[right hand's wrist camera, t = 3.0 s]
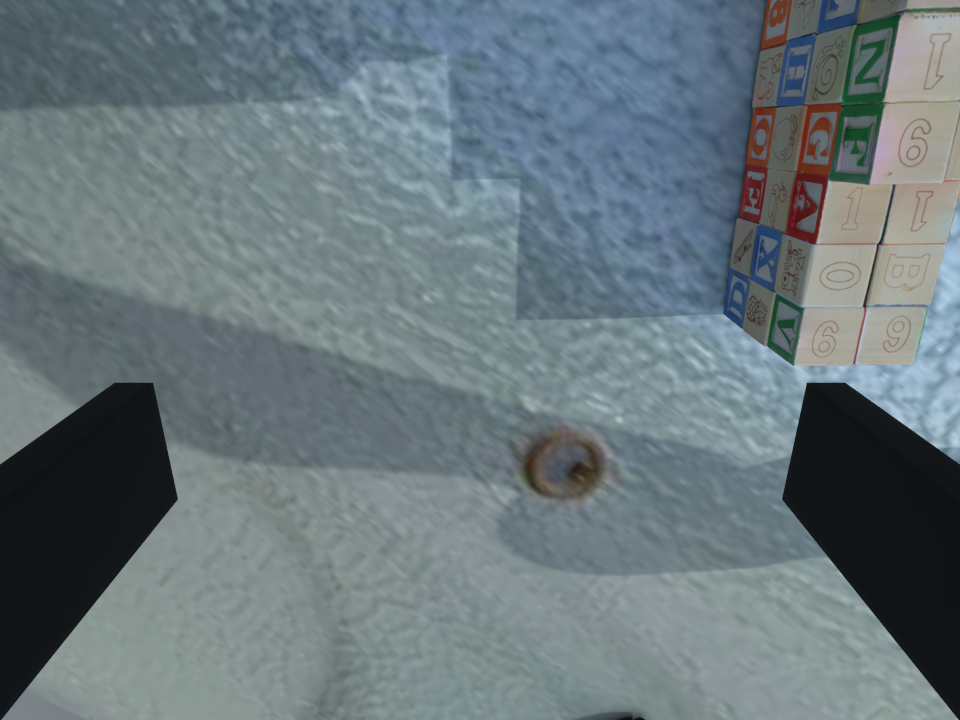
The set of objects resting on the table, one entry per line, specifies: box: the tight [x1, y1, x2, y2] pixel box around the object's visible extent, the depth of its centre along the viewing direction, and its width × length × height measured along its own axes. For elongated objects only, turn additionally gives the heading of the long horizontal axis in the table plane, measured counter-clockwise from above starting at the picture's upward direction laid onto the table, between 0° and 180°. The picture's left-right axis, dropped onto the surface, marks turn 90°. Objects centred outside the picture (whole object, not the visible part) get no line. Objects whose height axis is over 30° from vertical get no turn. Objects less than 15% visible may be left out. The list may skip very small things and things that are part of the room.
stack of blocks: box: [724, 0, 960, 366], centre depth 29 cm, size 21×6×12 cm, turn 0°
